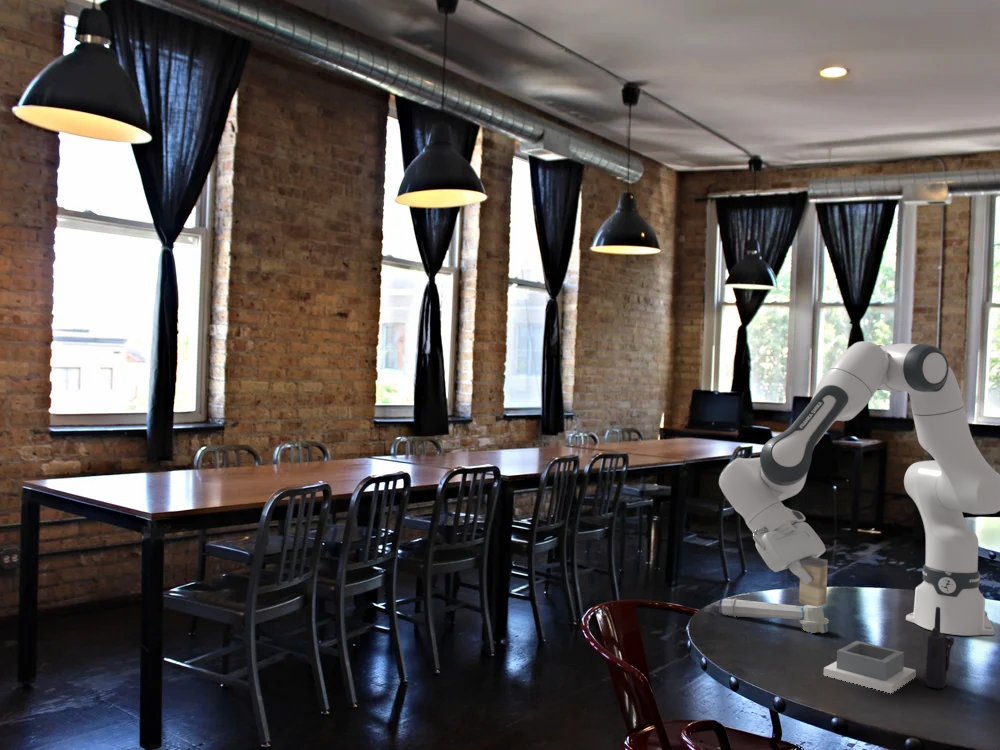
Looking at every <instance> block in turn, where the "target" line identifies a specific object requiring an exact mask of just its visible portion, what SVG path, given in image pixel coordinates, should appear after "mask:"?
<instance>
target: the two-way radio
mask: <svg viewBox="0 0 1000 750" xmlns="http://www.w3.org/2000/svg"><path fill="white" fill-rule="evenodd" d="M954 643H955V639H954V637H949V638H948V637H947V635H946V634H945V633H941V632H940V607H936V612H935V627H934V628H933V629H932V630H931V632H930V633H929V634H928V636H927V650H926V651H927V653H926V664H925V667H926V668H925V671H926V673H925V685H926V686H927V687H928V688H931V687H932V689H936V688H937V689H936V690H939V689H943V688H945V687H946V685H947V677H948V676H947V675H948V674H947V672H948V671H949V670H950V658H951V649H952V646H953V645H954Z"/></svg>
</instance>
